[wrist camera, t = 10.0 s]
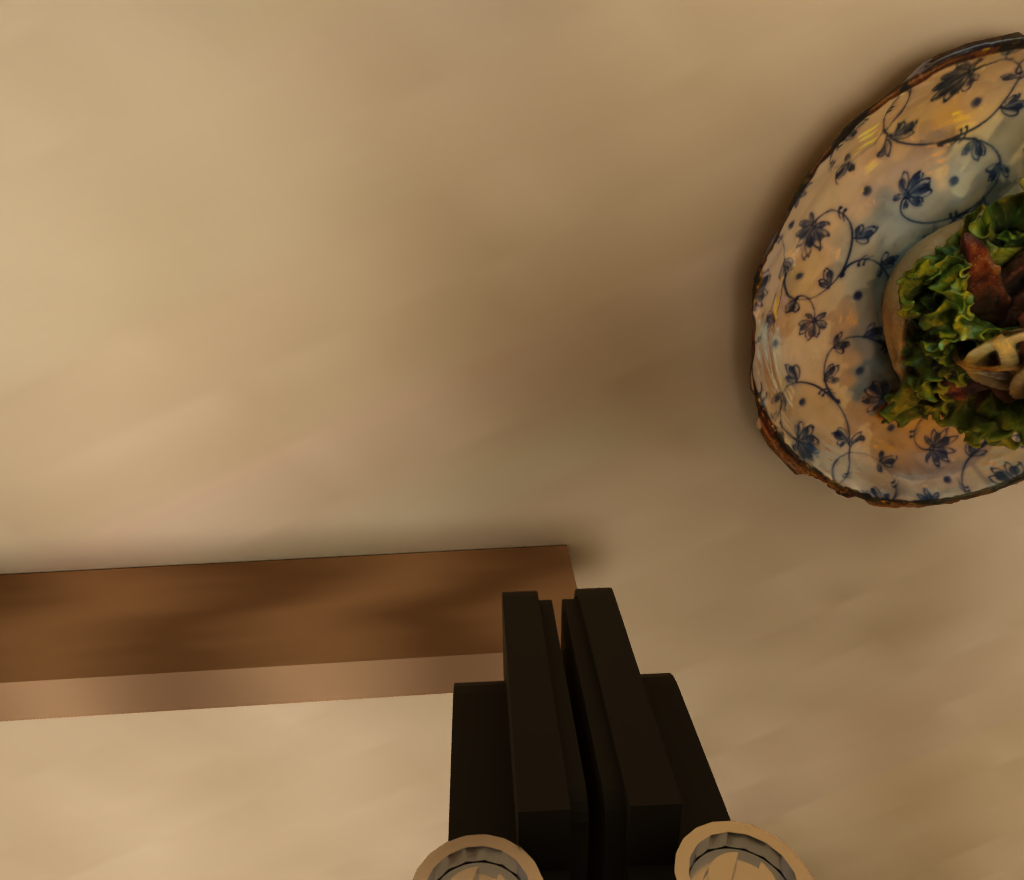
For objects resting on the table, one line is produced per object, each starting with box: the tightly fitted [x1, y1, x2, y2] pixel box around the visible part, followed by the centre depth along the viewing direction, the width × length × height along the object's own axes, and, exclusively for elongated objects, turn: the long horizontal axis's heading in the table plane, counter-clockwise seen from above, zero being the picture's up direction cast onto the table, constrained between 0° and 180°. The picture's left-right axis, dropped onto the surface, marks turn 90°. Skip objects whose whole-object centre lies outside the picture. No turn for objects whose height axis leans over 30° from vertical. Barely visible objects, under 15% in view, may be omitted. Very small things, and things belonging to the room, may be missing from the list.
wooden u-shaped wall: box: [0, 545, 577, 721], centre depth 16 cm, size 20×17×4 cm
